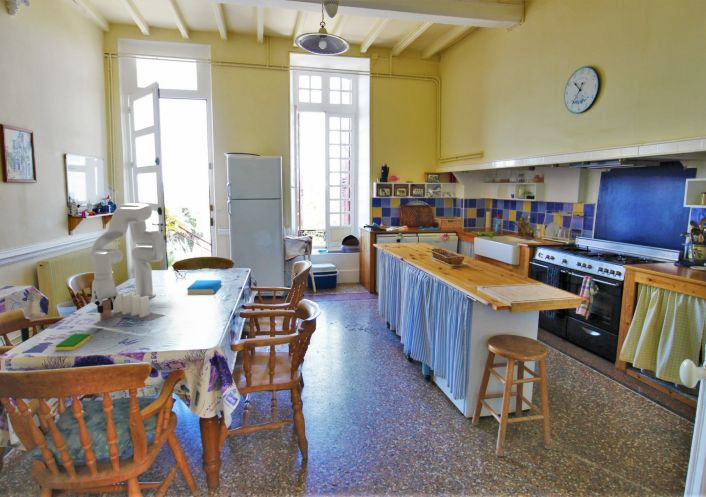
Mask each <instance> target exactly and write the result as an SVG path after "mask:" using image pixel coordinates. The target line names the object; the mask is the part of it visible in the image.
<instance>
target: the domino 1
mask: <svg viewBox="0 0 706 497" xmlns="http://www.w3.org/2000/svg"><path fill="white" fill-rule="evenodd" d="M102 305H103V313H99V314H100V316H99V317H100V320H101V321H102V320H106V319H110V318H113V315H112V312H113V311H112V310H111V299H108V298H106V299H103V301H102Z"/></svg>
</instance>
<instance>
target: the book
mask: <svg viewBox="0 0 706 497" xmlns="http://www.w3.org/2000/svg"><path fill="white" fill-rule="evenodd" d="M220 285H222V280H221V279H204V280H203V279H202V280H201V279H200V280H199V279H195V281H194V282H193V283H192V284H191V285H189V286H188V287H187V288H186V290H187V295H213V294H215V293H216V292H217V291H218V289H219V288H220V287H221V286H220Z"/></svg>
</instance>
